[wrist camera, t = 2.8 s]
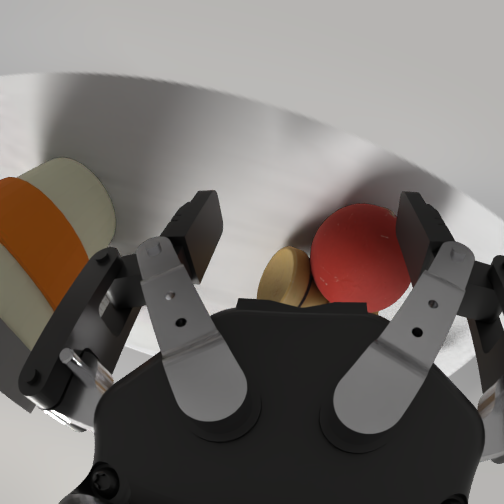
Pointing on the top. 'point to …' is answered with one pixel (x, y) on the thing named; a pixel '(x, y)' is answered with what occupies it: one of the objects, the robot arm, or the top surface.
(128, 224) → the top surface
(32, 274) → the reusable coffee cup
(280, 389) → the robot arm
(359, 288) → the kendama
